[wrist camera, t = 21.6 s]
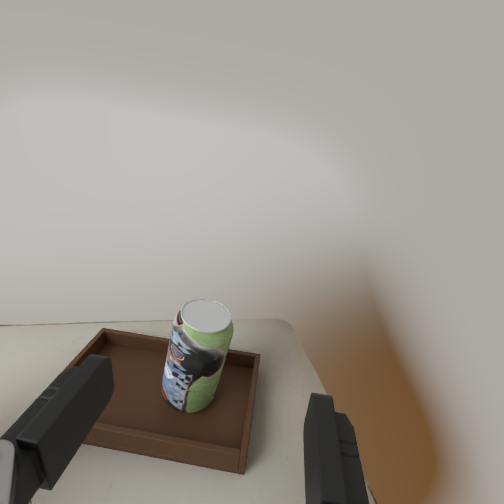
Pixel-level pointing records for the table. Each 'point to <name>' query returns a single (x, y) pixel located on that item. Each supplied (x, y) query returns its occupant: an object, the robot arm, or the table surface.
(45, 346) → the table surface
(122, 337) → the serving tray
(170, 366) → the beverage can
